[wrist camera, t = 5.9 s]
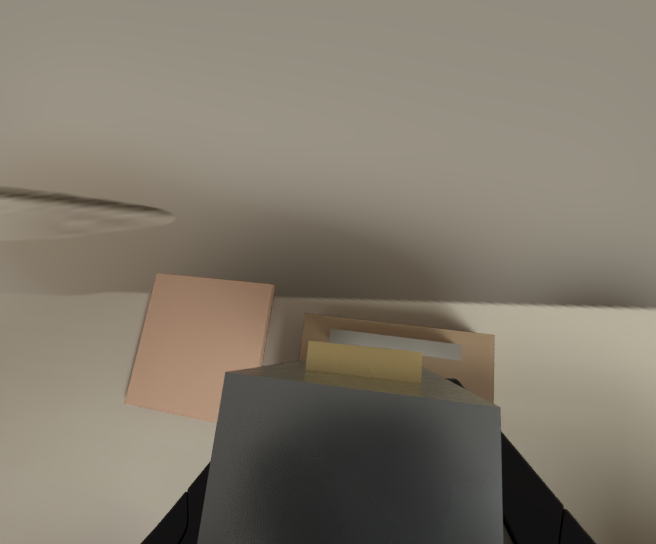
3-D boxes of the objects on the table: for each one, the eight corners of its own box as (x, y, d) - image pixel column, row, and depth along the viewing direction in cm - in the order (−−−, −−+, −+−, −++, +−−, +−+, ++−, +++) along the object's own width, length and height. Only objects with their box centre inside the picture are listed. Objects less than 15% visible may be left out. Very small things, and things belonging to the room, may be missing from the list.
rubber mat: (251, 426, 21) (248, 428, 21) (130, 402, 24) (124, 403, 23) (275, 285, 24) (272, 284, 23) (161, 274, 26) (156, 272, 25)
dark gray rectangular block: (419, 475, 12) (508, 815, 3) (318, 457, 13) (172, 691, 4) (423, 351, 13) (499, 360, 4) (329, 342, 14) (231, 333, 5)
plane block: (475, 472, 18) (502, 511, 14) (299, 436, 21) (276, 460, 16) (479, 336, 20) (504, 334, 16) (315, 317, 22) (298, 310, 18)
